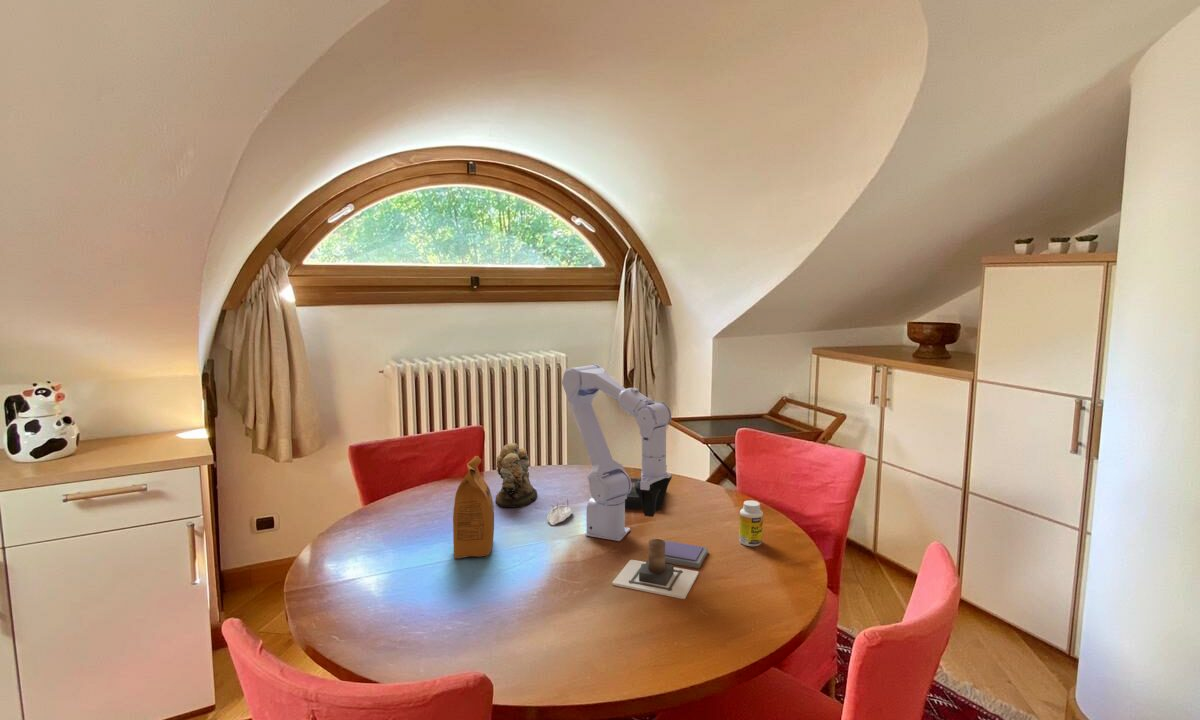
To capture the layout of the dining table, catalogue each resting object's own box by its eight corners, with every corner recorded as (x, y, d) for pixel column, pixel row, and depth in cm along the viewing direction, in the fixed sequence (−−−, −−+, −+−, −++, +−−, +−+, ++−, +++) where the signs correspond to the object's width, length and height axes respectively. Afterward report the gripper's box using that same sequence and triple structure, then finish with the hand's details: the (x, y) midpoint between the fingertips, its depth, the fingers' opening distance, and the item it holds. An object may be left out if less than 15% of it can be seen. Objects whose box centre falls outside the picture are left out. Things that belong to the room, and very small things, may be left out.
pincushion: (563, 528, 167) (563, 507, 166) (541, 525, 169) (541, 505, 168) (577, 512, 178) (577, 492, 178) (557, 509, 180) (557, 490, 179)
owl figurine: (530, 511, 179) (529, 452, 176) (489, 510, 180) (487, 451, 177) (541, 488, 197) (539, 435, 194) (503, 488, 197) (501, 434, 195)
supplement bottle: (750, 549, 154) (752, 508, 152) (734, 541, 158) (735, 501, 157) (766, 543, 157) (768, 504, 155) (749, 536, 161) (751, 497, 160)
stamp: (639, 581, 137) (639, 545, 136) (647, 569, 143) (647, 535, 141) (666, 586, 135) (666, 550, 134) (673, 573, 140) (674, 539, 139)
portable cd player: (607, 489, 197) (607, 477, 197) (663, 492, 195) (663, 479, 194) (600, 509, 181) (600, 495, 181) (661, 512, 179) (661, 498, 178)
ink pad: (652, 560, 148) (652, 554, 148) (663, 544, 156) (663, 539, 156) (699, 568, 144) (699, 562, 144) (707, 552, 152) (708, 546, 152)
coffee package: (499, 538, 160) (497, 453, 157) (491, 560, 148) (489, 469, 145) (460, 538, 160) (457, 453, 157) (448, 560, 148) (445, 469, 145)
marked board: (611, 584, 136) (612, 581, 136) (630, 561, 147) (630, 558, 147) (684, 599, 130) (684, 596, 130) (698, 573, 141) (698, 570, 141)
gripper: (661, 464, 141) (661, 523, 143) (678, 448, 154) (678, 502, 156) (631, 461, 144) (631, 519, 145) (650, 445, 157) (651, 499, 159)
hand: (654, 510), depth 151 cm, fingers open, 7 cm apart
